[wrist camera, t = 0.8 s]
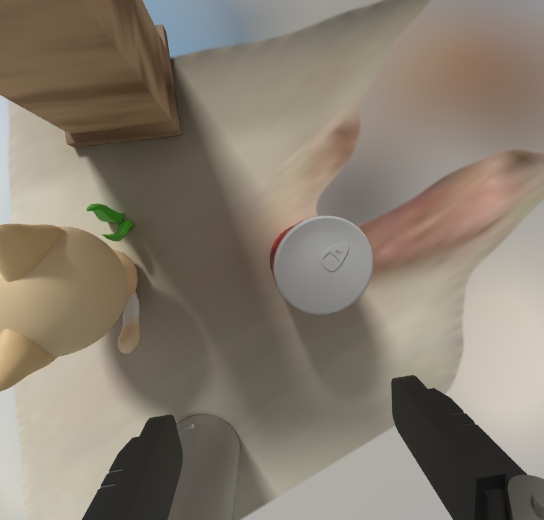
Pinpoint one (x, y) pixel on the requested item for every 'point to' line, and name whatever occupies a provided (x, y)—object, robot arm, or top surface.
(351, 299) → the canned food
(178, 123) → the stand
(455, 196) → the top surface
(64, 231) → the kitten
